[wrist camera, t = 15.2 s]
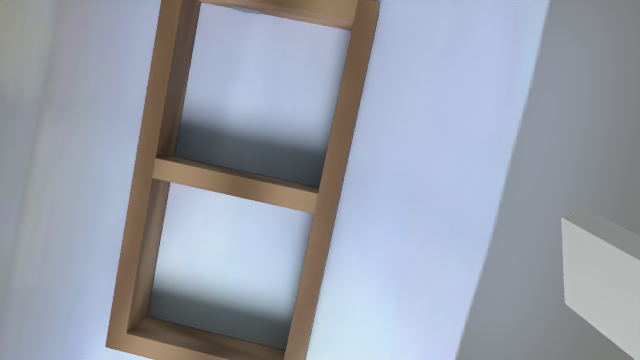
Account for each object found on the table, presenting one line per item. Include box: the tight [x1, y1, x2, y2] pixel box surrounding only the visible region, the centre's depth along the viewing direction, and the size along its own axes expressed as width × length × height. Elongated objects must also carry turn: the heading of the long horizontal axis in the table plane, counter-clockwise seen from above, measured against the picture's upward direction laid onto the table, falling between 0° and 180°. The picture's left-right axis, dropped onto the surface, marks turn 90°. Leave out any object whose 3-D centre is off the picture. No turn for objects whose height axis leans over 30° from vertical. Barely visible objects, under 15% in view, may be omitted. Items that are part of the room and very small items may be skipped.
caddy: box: [105, 0, 380, 360], centre depth 29 cm, size 12×24×3 cm, turn 168°
